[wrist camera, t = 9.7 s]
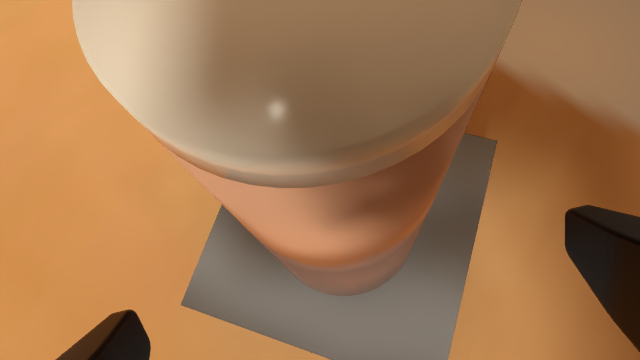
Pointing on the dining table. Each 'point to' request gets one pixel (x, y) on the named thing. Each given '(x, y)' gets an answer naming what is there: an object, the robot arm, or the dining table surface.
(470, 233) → the riser block
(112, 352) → the robot arm
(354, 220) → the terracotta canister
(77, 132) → the dining table surface
